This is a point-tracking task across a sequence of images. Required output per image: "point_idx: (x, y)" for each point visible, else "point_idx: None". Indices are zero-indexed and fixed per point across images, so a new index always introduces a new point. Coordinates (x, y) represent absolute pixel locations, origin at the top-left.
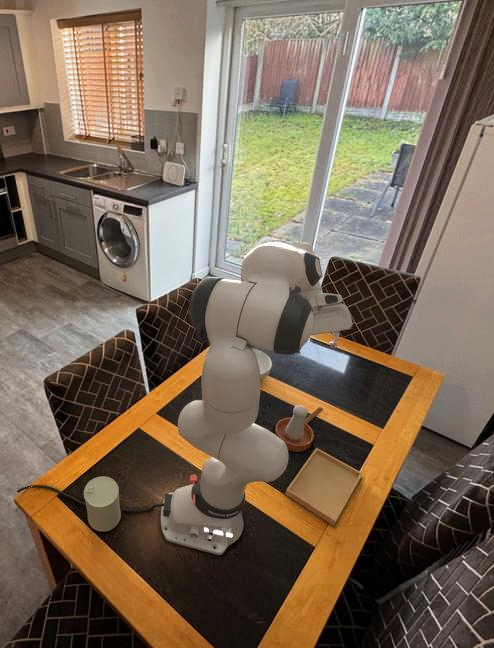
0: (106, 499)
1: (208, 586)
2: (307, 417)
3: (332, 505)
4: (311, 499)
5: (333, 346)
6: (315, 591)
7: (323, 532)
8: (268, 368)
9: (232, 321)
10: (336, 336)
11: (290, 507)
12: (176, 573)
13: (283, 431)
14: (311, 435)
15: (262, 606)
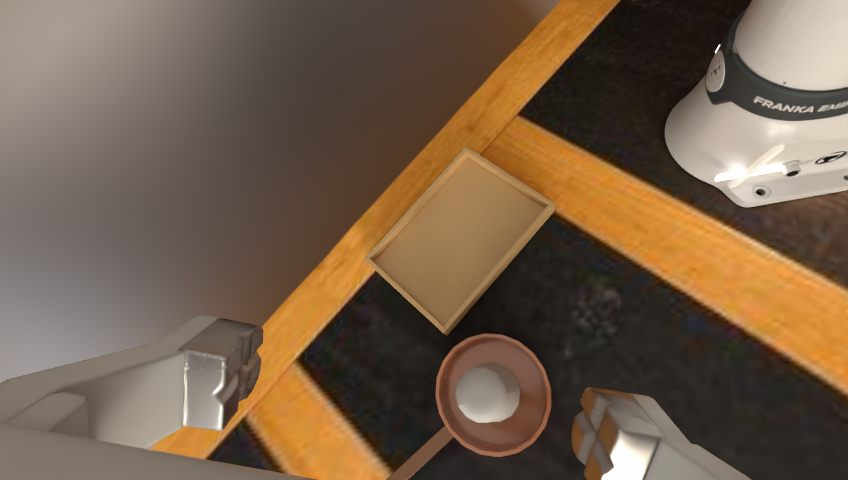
0: None
1: None
2: (432, 455)
3: (457, 189)
4: (497, 198)
5: (227, 326)
6: (535, 52)
7: (492, 141)
8: None
9: None
10: (72, 380)
11: (547, 182)
12: None
13: (517, 415)
14: (441, 381)
15: (631, 17)
